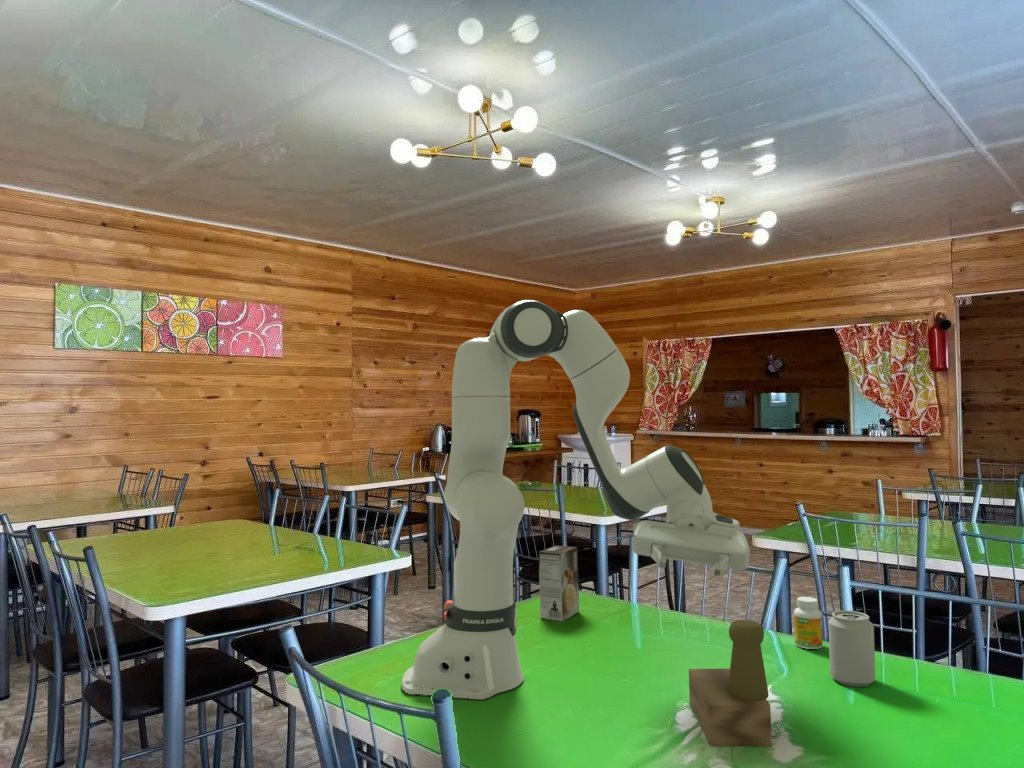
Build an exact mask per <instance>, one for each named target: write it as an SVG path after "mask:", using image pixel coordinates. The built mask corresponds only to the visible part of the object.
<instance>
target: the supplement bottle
mask: <svg viewBox="0 0 1024 768" xmlns="http://www.w3.org/2000/svg"><path fill="white" fill-rule="evenodd" d="M796 601H797V602H796V604H797V606H798V607H796V608H795V609H794V611H793V622H794V625H793V627H794V630H793V631H794V644H796V645H797V646H799V647H802V648H809V649H818V648H821V647H822V646H823V645H824V644H823V643H824V642H823V614H822V611H821V610H819V609H818V608H819V600H818V599H817V598H815V597H810V596H799V597H797V598H796ZM795 636H797V637H795ZM796 645H795V646H796ZM797 646H796V647H797ZM799 647H798V648H799ZM802 648H801V649H802ZM822 648H823V647H822ZM822 648H821V649H822ZM818 650H819V649H818Z"/></svg>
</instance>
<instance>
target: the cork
mask: <svg viewBox="0 0 1024 768" xmlns="http://www.w3.org/2000/svg"><path fill="white" fill-rule="evenodd" d="M728 635H729V636H728V637H729V639H730V640H731V641H732V648H731V657H730V667H729V669H730V674H729V684H728V694H729V695H731V696H732V697H734V698H736V699H740V700H745V701H761V700H765V699H766V700H767V699H768V698H769V689H768V683H767V676H766V671H765V670H766V669H765V663H764V659H763V651H762V643H763V642H764V638H765V631H764V627H763V626H762V625H761V623H759V622H758V621H755V620H753V619H752V620H751V619H736V620H734V621H732V622H730V624H729V626H728Z"/></svg>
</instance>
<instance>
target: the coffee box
mask: <svg viewBox="0 0 1024 768" xmlns="http://www.w3.org/2000/svg"><path fill="white" fill-rule="evenodd" d="M578 554H579V553H578V546H570V545H569V546H568V545H567V546H566V545H553V546H551V547H547V548H545V549H543V550H539V551H538V575H539V576H538V577H539V581H538V583H539V611H540V612H539V614H540V618H541V619H543V618H545V620H550V619H551V620H550V621H557V620H558V622H564V621H566V620H567V619H569V618H571V617H573V616H574V615H575V614H577V613H579V612H580V594H579V592H580V591H579V590H580V589H579V587H580V586H579V561H578Z"/></svg>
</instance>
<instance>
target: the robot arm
mask: <svg viewBox="0 0 1024 768" xmlns="http://www.w3.org/2000/svg"><path fill="white" fill-rule="evenodd" d="M545 355H546V356H550V357H551V358H553V359H555V361H556V362H557V363H558V364H559V365H560V366H561V368H562V369H563V370H564V372H565V374H566V376H567V378H568V379H569V380H570V382H571V384H572V386H573V388H574V393H575V397H576V398H575V399H576V400H575V401H576V402H575V404H574V406H573V408H572V414H573V418H574V421H575V424H576V425H575V426H576V427H577V430H578V433H579V435H580V437H581V441H582V443H583V445H584V447H585V450H586V452H587V454H588V456H589V459H590V461H591V463H592V465H593V468H594V470H595V473H596V475H597V478H598V480H599V482H600V485H601V488H602V491H603V494H604V496H605V500H606V503H607V505H608V507H609V508H610V510H611V512H612V513H613V514H614V515H615V516H616V517H618V518H621V519H624V520H627V521H632V522H634V523H633V525H632V532H633V536H632V544H631V551H632V552H634V554H636V555H638V556H645V557H651V559H653V561H654V562H655V563H656V567H657V568H660V569H661V568H662V569H666V566H667V565H666V564H667V560H671V561H672V560H673V561H677V562H684V563H692V564H697V565H705V566H711V567H712V566H713V570H712V573H713V574H712V576H714V577H720V578H723V575H724V572H726V571H727V570H728V569H730V570H736V571H737V570H738V571H744V570H746V569H747V568H748V567H749V562H750V556H751V555H750V554H751V551H750V546H749V542H748V539H747V538H746V536H745V534H744V533H743V532H742V531H741V530H740V522H739V521H738V520H737V519H734V518H731V517H726V516H724V515H722V514H718V513H717V512H714V511H713V502H712V499H711V496H710V492H709V491H708V488H707V487H706V485H705V483H704V476H703V474H702V472H701V469H700V468H699V466H698V464H697V463H696V461H695V460H694V459H693V458H692V456H691V455H690V454H689V453H688V452H687V451H686V450H684V449H681V448H679V447H677V446H673V445H667V444H666V445H664V446H663V447H661V448H659V449H657V450H656V451H653V452H651V453H650V454H647V455H646V456H645V457H643V458H641V459H639V460H638V461H636V462H634V463H632V464H630V465H628V466H626V467H620V466H619V465H618V462H617V460H616V459H615V456H614V453H613V451H612V449H611V446H610V444H609V442H608V440H607V438H606V435H605V431H604V426H605V423H606V421H607V419H608V417H609V415H610V414H611V413H612V412H613V410H615V408H616V407H617V406H618V404H620V402H621V401H622V399H623V398H624V396H625V394H626V392H627V390H628V388H629V385H630V381H631V380H630V379H631V373H630V368H629V366H628V364H627V362H626V360H625V358H624V356H623V354H622V353H621V351H620V349H619V348H618V346H617V345H616V343H615V342H614V340H613V339H612V338H611V336H610V335H609V334H608V332H607V331H606V330H605V329H604V328H603V327H602V326H601V324H600V323H599V322H598V321H597V320H596V319H595V317H593V315H591V313H589V312H588V311H585V310H583V309H573V310H569V311H567V312H565V313H561V312H559V311H557V310H556V309H554V308H552V307H550V306H549V305H547V304H545V303H543V302H540V301H538V300H535V299H533V300H532V299H524V300H520V301H516V302H515V303H513V304H511V305H509V306H508V307H506V308H505V309H503V310H502V311H501V312H500V314H499V315H498V317H497V318H496V319H495V320H494V322H493V323H492V326H491V327H490V329H489V330H488V333H487V335H486V336H485V337H477V338H472V339H469V340H466V341H465V342H463V343H461V344H460V346H459V347H458V348H457V350H456V352H455V357H454V364H453V372H452V381H451V383H452V384H451V446H450V453H449V458H448V460H449V461H448V468H447V477H446V486H445V487H444V500H445V504H446V507H447V509H448V511H449V513H450V515H451V516H452V517H453V518H454V519H456V520H457V521H458V522H459V525H460V526H459V538H458V544H457V551H456V554H455V555H456V556H455V558H454V560H453V561H454V562H453V586H454V587H453V594H454V597H453V598H454V599H453V600H454V601H453V600H451V599H449V600H448V599H447V601H445V603H444V605H443V625H441V627H439V628H438V629H437V630H434V632H433V633H432V634H430V635H429V636H428V637H426V638H425V639H424V640H423V641H422V642H421V644H420V645H419V646H418V648H417V651H416V654H415V657H414V662H413V665H412V666H410V667H409V668H407V670H406V671H405V672H404V673H403V676H402V679H401V689H402V691H403V690H404V691H405V692H406V693H405V692H404V691H403V692H404V693H405V694H407V693H408V695H415V694H417V695H416V696H418V694H420V695H419V696H428V695H429V694H430V697H432V696H431V694H432V693H433V692H434V691H435V690H437V689H440V688H445V689H448V690H450V691H451V693H452V695H453V697H452V698H455V699H467V698H468V699H470V700H487V699H489V698H491V697H493V696H495V695H496V694H499V693H503V692H507V691H509V690H512V689H515V688H517V687H519V686H520V685H521V684H522V683H523V681H524V674H523V671H522V668H521V663H520V659H519V655H518V648H517V640H516V634H517V630H518V629H517V624H518V623H517V620H518V619H517V615H518V614H517V608H516V602H515V601H514V574H513V573H514V569H513V568H514V567H513V566H514V553H515V547H516V541H517V535H518V531H519V529H518V528H519V524H520V523H521V520H522V518H523V516H524V512H525V500H524V496H523V494H522V492H521V490H520V488H519V487H518V486H517V485H516V484H515V483H514V481H513V480H511V479H510V478H509V477H507V476H506V475H504V473H503V468H504V463H505V458H506V452H507V448H508V445H509V443H510V440H511V387H510V386H511V385H510V379H511V374H512V370H513V368H514V366H515V365H516V364H519V363H523V362H531V361H534V360H536V359H538V358H540V357H542V356H543V357H544V356H545ZM664 504H666V516H665V522H662V521H656V520H649V519H647V520H645V519H644V520H641V521H639V522H636V521H637V520H638V519H641V518H642V517H643V516H645V515H646V514H648V513H650V511H652V510H654V509H656V508H658V507H659V506H661V505H664ZM422 694H423V695H422ZM427 694H428V695H427ZM486 698H487V699H486Z"/></svg>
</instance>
